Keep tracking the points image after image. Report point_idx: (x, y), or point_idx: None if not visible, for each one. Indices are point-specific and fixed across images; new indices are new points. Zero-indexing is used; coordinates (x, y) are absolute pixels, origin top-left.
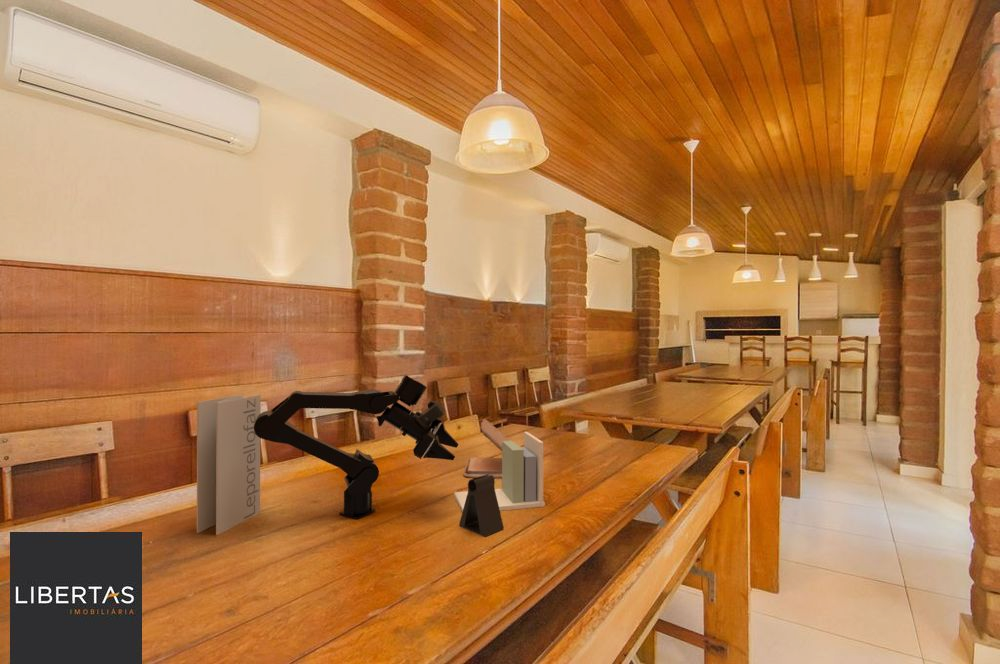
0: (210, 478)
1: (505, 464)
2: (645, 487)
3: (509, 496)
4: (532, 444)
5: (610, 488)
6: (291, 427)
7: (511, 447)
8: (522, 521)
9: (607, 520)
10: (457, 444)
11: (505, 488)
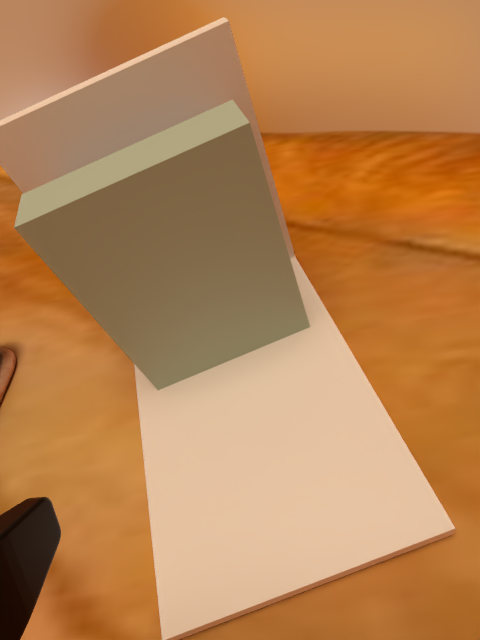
0: None
1: (152, 283)
2: None
3: (264, 337)
4: (134, 109)
5: None
6: None
7: (179, 147)
8: (451, 282)
9: (371, 136)
10: (44, 507)
11: (201, 354)
